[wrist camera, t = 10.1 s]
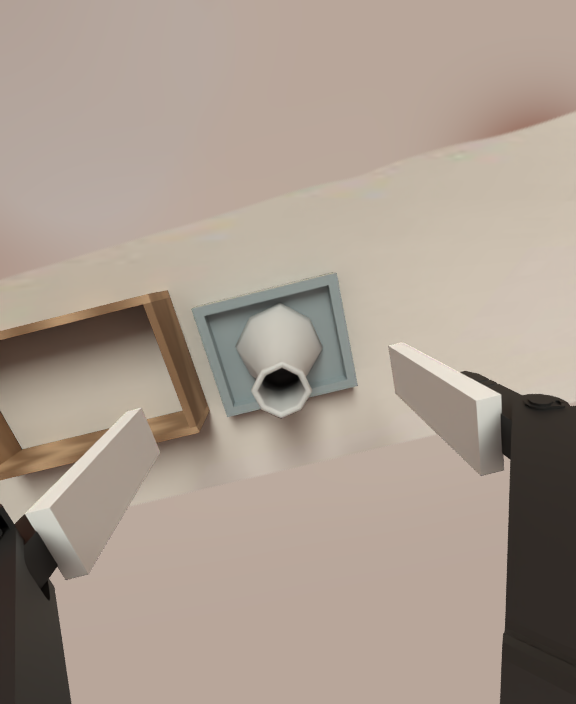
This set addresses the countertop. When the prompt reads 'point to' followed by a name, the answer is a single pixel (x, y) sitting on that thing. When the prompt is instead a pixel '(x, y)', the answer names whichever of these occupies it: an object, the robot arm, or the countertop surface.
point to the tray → (233, 313)
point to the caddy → (10, 460)
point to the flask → (279, 358)
